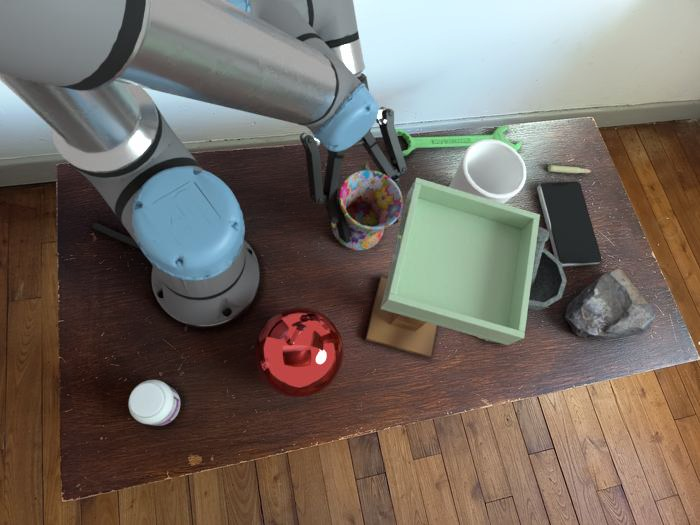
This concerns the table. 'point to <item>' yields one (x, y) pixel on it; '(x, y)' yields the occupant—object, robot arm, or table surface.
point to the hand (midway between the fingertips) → (369, 229)
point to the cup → (490, 171)
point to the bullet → (567, 169)
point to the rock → (610, 309)
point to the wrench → (452, 140)
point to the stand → (399, 328)
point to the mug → (368, 206)
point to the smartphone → (569, 223)
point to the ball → (298, 352)
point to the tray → (463, 263)
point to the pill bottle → (154, 403)
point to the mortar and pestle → (545, 276)
